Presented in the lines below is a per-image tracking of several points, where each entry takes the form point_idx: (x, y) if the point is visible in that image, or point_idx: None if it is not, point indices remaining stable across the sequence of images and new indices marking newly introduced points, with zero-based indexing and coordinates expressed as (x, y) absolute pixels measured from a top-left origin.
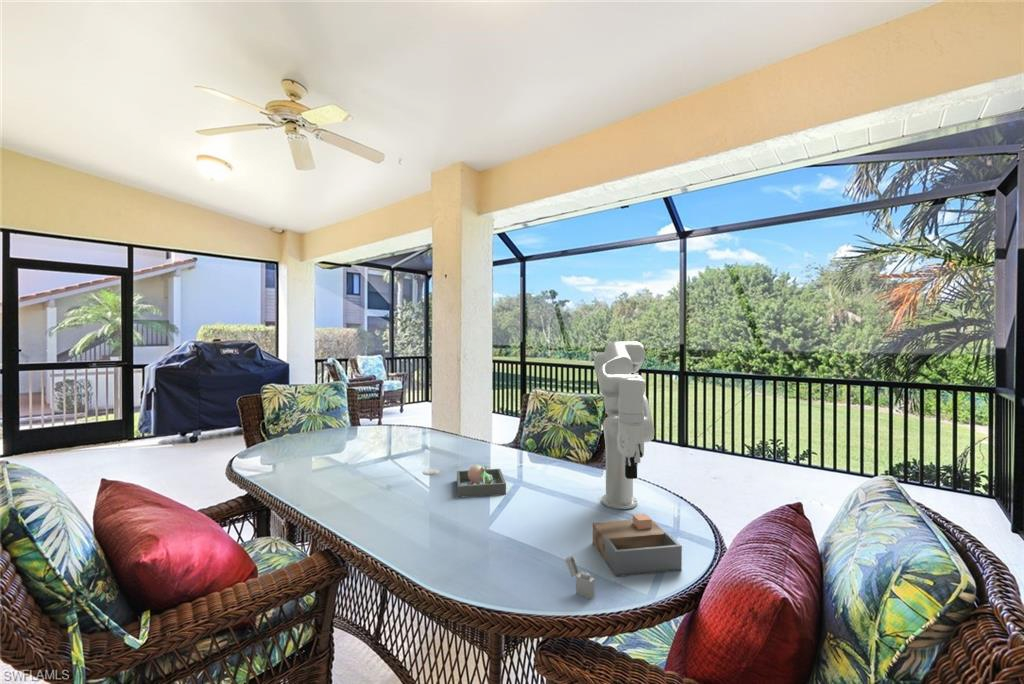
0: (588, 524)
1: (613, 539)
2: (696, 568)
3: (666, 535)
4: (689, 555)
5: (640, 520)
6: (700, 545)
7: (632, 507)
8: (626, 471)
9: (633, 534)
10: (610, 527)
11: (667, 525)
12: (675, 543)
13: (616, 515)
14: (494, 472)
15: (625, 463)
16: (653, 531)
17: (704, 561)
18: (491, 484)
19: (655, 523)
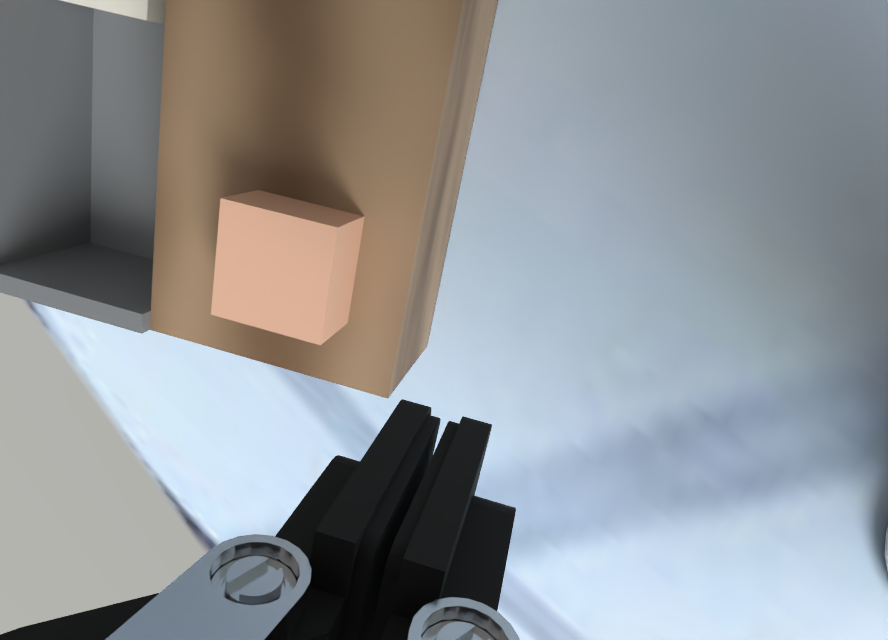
0: (830, 40)
1: None
2: (89, 333)
3: (115, 303)
4: (198, 396)
5: (221, 216)
6: (269, 521)
7: (885, 555)
8: (398, 460)
9: (189, 92)
10: None
11: (530, 553)
12: (6, 274)
13: (847, 365)
14: None
15: (475, 613)
16: (197, 269)
17: (135, 416)
18: None
19: (304, 371)
